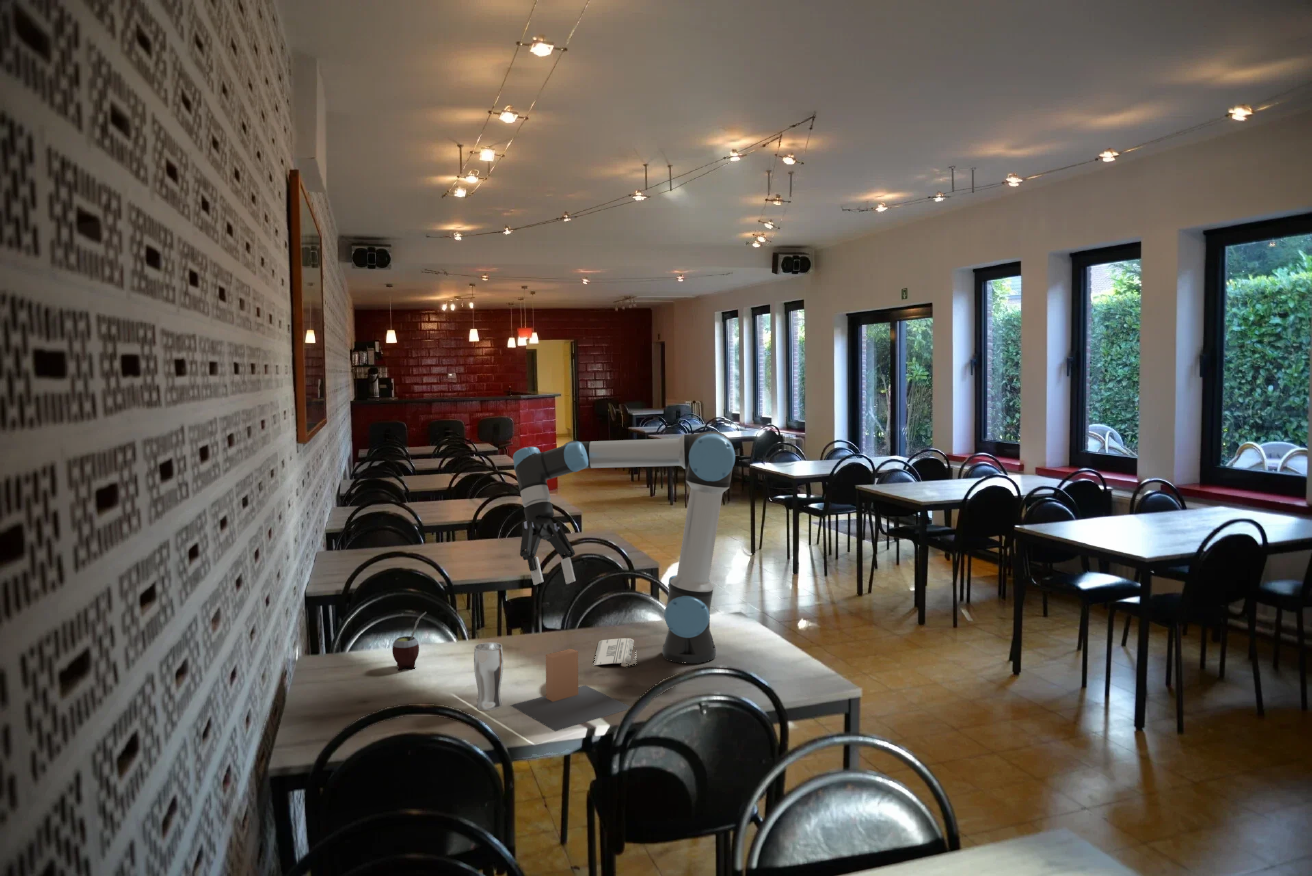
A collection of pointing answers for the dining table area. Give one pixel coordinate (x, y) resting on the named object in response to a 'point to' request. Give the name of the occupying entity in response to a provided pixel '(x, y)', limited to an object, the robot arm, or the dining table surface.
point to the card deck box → (561, 674)
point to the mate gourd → (406, 650)
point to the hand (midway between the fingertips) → (555, 583)
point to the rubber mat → (571, 708)
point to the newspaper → (614, 651)
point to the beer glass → (488, 674)
